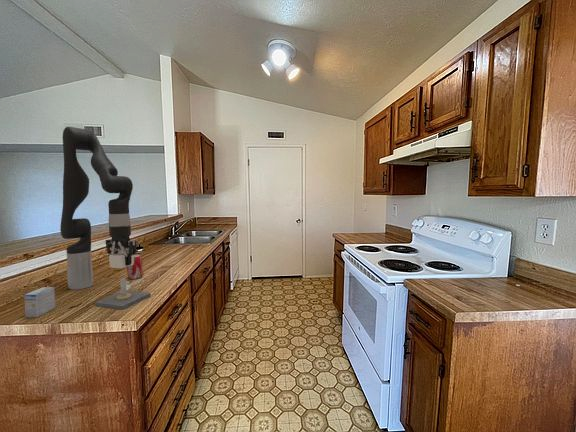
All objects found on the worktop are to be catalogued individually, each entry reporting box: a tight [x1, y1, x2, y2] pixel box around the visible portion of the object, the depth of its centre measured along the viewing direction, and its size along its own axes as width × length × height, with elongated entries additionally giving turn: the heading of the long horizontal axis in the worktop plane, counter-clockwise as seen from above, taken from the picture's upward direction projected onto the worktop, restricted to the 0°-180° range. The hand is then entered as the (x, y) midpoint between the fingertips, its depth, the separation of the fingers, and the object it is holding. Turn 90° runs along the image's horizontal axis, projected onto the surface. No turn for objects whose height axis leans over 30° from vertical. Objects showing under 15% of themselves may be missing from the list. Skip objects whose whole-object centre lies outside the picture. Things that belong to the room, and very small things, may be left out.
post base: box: [94, 277, 151, 311], centre depth 109 cm, size 14×14×10 cm
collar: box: [108, 251, 134, 269], centre depth 108 cm, size 6×6×5 cm
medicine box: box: [23, 286, 56, 318], centre depth 98 cm, size 8×4×9 cm, turn 4°
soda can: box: [126, 254, 144, 280], centre depth 139 cm, size 7×7×12 cm
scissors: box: [117, 279, 145, 293], centre depth 126 cm, size 11×1×20 cm
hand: (122, 264), depth 108 cm, fingers closed on collar, 6 cm apart
